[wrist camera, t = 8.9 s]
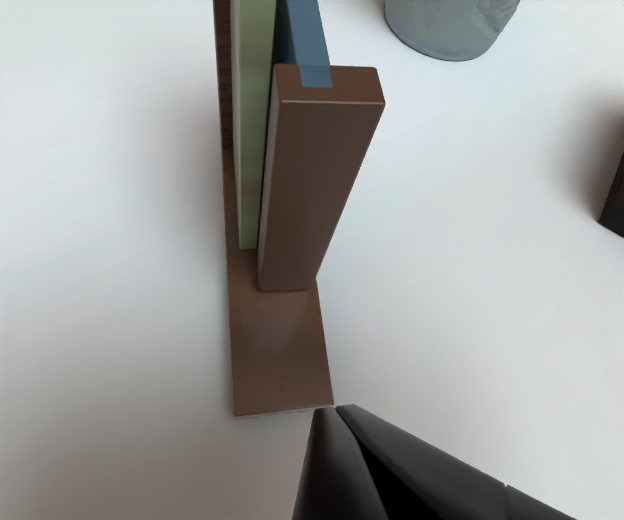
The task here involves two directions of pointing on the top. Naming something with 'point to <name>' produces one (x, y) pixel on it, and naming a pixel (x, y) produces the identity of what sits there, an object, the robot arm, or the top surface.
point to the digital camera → (615, 203)
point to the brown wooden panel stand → (246, 230)
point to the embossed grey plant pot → (449, 25)
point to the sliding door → (309, 146)
